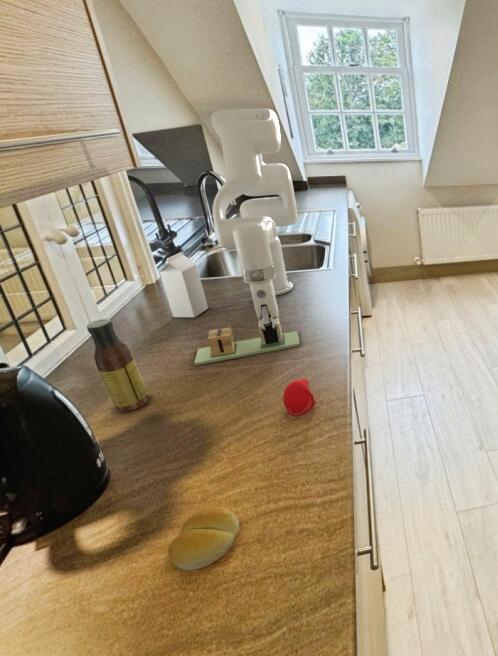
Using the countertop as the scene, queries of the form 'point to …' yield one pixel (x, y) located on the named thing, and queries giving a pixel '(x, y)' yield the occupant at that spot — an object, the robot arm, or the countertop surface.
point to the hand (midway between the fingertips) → (272, 337)
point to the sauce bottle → (117, 367)
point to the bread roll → (204, 538)
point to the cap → (298, 398)
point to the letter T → (278, 328)
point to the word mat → (248, 348)
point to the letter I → (221, 341)
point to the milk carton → (183, 286)
